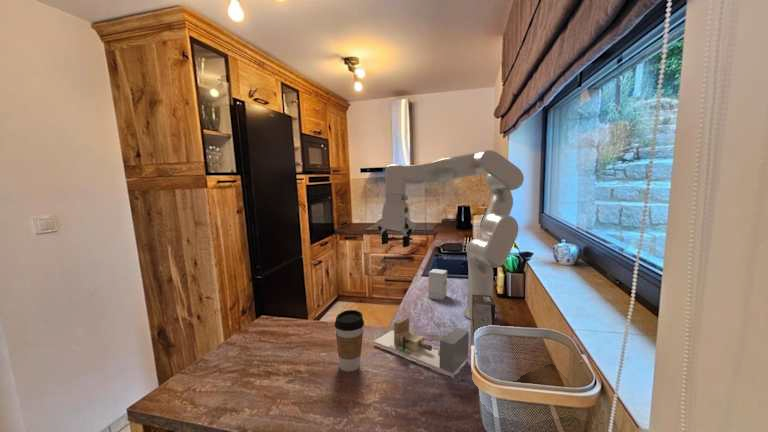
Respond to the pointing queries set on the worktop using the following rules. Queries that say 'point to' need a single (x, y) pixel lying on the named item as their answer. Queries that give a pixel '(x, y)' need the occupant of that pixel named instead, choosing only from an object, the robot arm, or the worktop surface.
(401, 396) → the worktop surface
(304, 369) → the worktop surface
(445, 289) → the supplement box
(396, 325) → the beige stepped block
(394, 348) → the beige vise
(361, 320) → the coffee cup
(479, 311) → the coffee box
